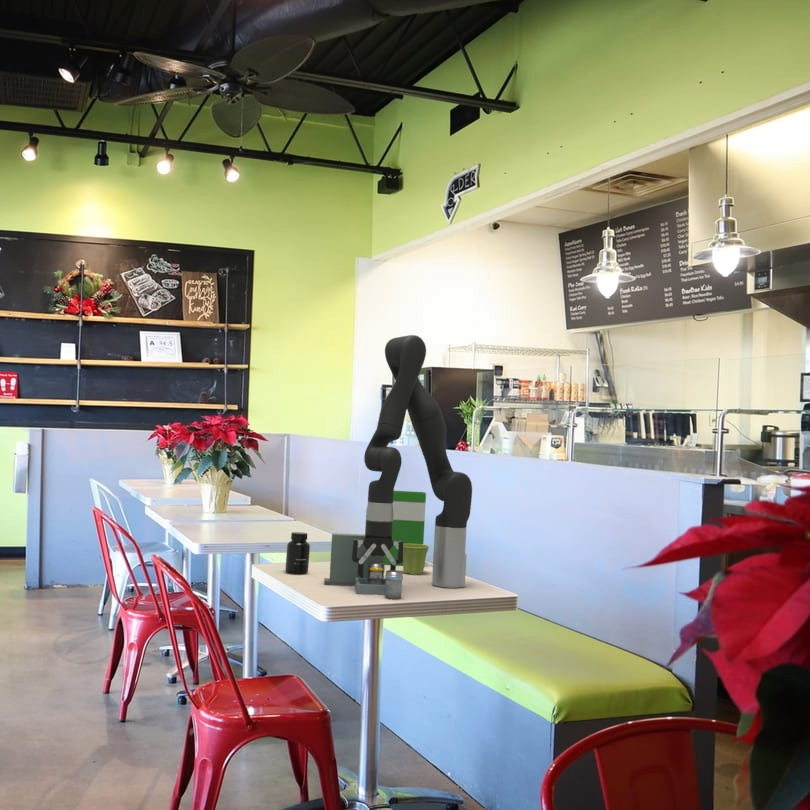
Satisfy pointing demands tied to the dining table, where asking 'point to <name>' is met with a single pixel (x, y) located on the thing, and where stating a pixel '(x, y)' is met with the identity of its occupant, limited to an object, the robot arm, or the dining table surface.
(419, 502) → the hardback book
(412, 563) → the plant pot
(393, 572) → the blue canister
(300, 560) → the supplement bottle
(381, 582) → the grey gold-banded metal jar
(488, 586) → the dining table surface
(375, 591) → the tray
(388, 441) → the robot arm
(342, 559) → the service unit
